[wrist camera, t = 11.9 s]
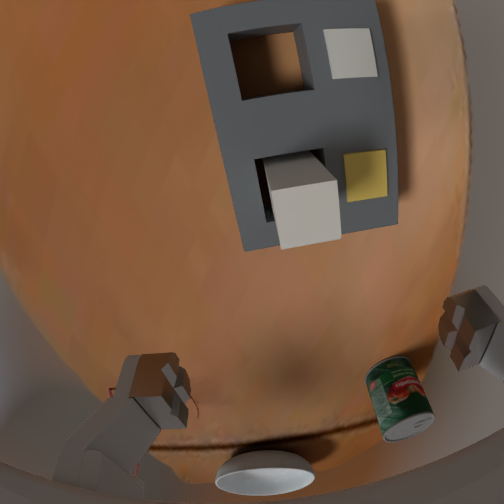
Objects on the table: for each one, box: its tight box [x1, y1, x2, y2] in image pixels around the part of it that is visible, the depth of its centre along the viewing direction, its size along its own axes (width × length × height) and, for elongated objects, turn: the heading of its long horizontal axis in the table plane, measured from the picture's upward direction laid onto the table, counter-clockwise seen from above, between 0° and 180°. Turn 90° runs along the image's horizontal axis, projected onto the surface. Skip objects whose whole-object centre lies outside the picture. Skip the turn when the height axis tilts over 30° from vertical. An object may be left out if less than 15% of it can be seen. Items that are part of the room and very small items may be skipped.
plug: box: [263, 150, 342, 249], centre depth 23 cm, size 4×4×10 cm
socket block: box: [190, 0, 398, 252], centre depth 23 cm, size 20×14×4 cm
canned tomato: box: [365, 356, 435, 442], centre depth 38 cm, size 8×8×11 cm
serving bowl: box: [215, 450, 315, 495], centre depth 55 cm, size 21×21×7 cm
